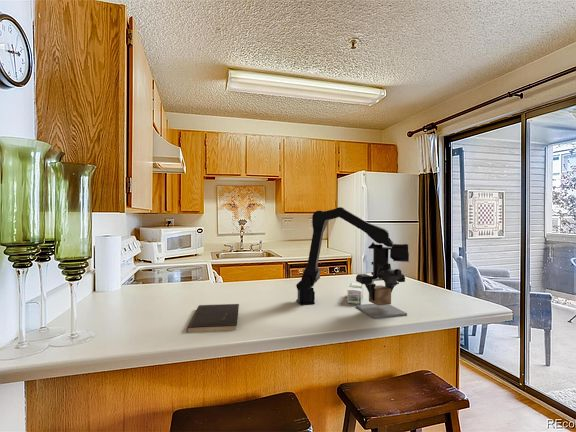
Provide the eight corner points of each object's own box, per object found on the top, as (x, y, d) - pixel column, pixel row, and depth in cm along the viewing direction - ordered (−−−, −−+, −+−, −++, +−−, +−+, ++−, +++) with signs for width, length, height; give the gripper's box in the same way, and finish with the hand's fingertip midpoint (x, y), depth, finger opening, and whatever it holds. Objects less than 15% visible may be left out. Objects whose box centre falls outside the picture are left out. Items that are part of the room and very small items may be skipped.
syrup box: (350, 294, 144) (347, 303, 130) (350, 282, 144) (347, 290, 130) (363, 295, 142) (361, 305, 128) (363, 282, 142) (361, 291, 128)
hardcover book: (238, 309, 123) (238, 303, 123) (236, 331, 100) (236, 324, 100) (198, 311, 121) (198, 305, 121) (186, 334, 98) (186, 326, 98)
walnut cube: (378, 305, 117) (378, 290, 116) (368, 301, 122) (368, 286, 122) (391, 304, 119) (391, 288, 119) (381, 299, 124) (381, 285, 124)
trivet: (374, 318, 112) (374, 316, 112) (355, 307, 125) (355, 305, 125) (407, 315, 115) (407, 313, 115) (385, 304, 129) (385, 302, 129)
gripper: (370, 264, 110) (369, 307, 110) (414, 262, 115) (414, 304, 115) (355, 259, 120) (355, 299, 121) (396, 258, 125) (396, 296, 126)
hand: (380, 299), depth 120 cm, fingers closed on walnut cube, 6 cm apart
